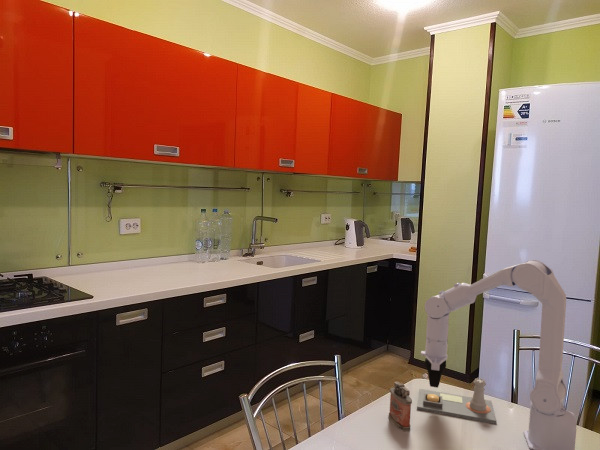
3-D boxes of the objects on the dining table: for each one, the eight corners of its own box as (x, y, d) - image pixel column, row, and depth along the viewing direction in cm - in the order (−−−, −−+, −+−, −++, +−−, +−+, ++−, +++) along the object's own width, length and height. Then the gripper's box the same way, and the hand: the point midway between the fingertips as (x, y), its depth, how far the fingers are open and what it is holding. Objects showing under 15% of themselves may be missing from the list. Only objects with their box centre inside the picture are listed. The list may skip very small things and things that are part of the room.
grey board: (491, 403, 125) (491, 396, 125) (496, 423, 114) (496, 416, 114) (419, 391, 131) (419, 384, 131) (416, 409, 120) (417, 402, 120)
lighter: (385, 415, 116) (387, 378, 115) (396, 414, 117) (399, 377, 116) (401, 431, 108) (403, 392, 108) (413, 429, 109) (415, 391, 109)
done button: (438, 400, 124) (439, 395, 123) (438, 405, 121) (439, 400, 120) (426, 398, 125) (427, 393, 124) (426, 403, 122) (426, 398, 121)
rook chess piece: (488, 412, 118) (491, 384, 117) (471, 411, 118) (473, 382, 118) (483, 404, 122) (485, 377, 122) (467, 403, 123) (469, 375, 122)
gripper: (422, 329, 129) (420, 374, 130) (420, 344, 116) (417, 394, 116) (448, 332, 127) (445, 377, 128) (448, 348, 113) (445, 399, 114)
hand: (434, 386), depth 122 cm, fingers closed
